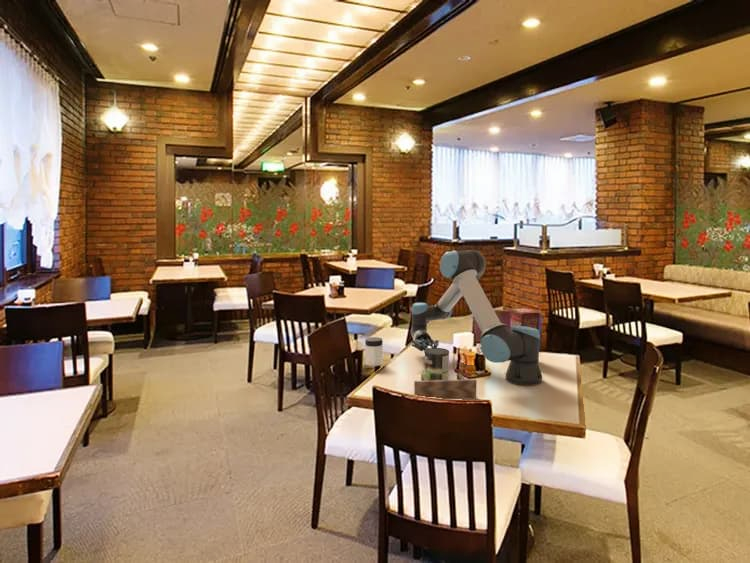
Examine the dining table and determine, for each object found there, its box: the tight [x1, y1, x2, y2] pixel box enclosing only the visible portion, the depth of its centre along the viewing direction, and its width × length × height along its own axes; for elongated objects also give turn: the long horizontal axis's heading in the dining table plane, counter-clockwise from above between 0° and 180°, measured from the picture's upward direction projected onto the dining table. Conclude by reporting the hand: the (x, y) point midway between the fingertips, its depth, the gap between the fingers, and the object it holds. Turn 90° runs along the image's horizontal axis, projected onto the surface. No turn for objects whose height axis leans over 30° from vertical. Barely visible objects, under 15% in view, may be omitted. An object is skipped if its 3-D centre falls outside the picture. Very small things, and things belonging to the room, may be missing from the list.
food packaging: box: [509, 307, 540, 332], centre depth 253 cm, size 13×9×25 cm
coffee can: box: [423, 347, 450, 380], centre depth 222 cm, size 10×10×14 cm
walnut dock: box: [413, 372, 478, 399], centre depth 209 cm, size 24×10×7 cm, turn 94°
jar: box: [364, 336, 384, 367], centre depth 251 cm, size 9×8×12 cm
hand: (431, 352), depth 232 cm, fingers closed
